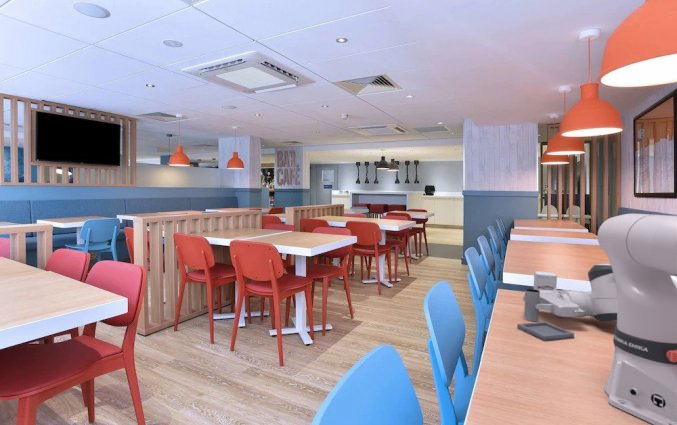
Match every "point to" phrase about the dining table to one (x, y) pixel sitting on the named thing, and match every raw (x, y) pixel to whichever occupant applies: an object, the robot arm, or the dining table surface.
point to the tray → (545, 331)
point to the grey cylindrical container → (531, 305)
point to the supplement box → (544, 280)
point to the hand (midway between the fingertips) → (529, 302)
